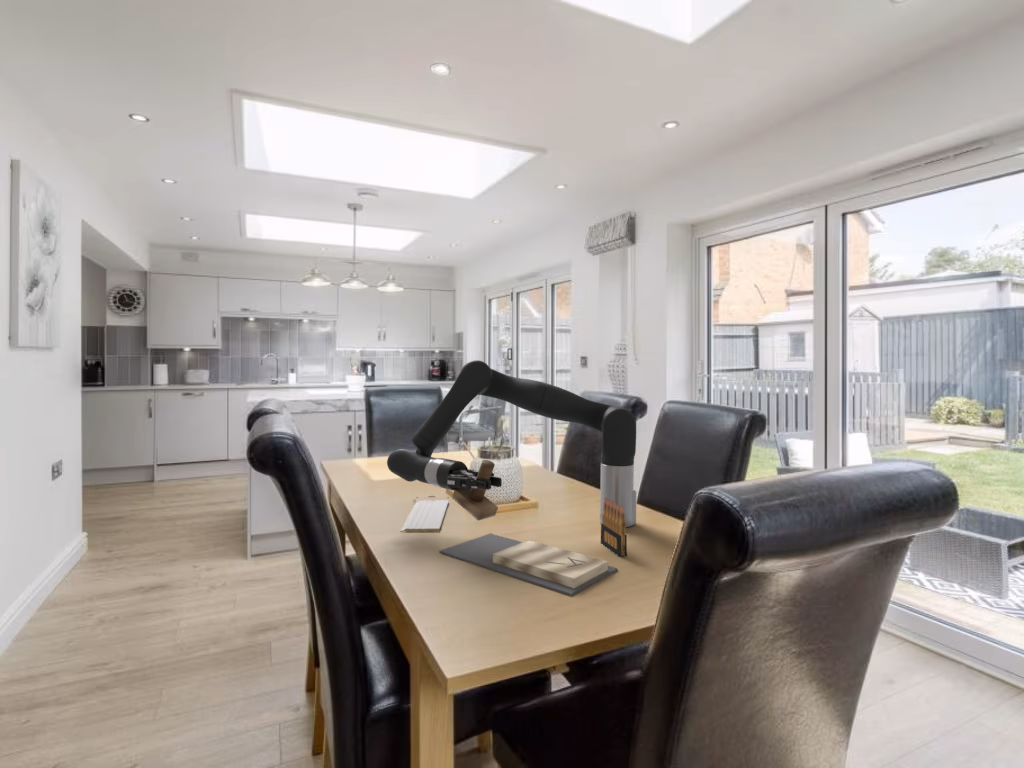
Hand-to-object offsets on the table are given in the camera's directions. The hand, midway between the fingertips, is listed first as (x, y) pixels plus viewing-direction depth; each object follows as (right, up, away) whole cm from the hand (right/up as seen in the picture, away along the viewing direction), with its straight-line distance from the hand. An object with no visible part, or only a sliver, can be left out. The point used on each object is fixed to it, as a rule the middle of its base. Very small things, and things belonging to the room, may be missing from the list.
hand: (495, 483), depth 134 cm
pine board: (+12, -17, -10) cm, 23 cm away
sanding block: (-6, -7, +5) cm, 10 cm away
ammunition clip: (+29, -17, +3) cm, 34 cm away
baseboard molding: (-22, -16, +32) cm, 42 cm away
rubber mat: (+7, -17, -5) cm, 19 cm away
